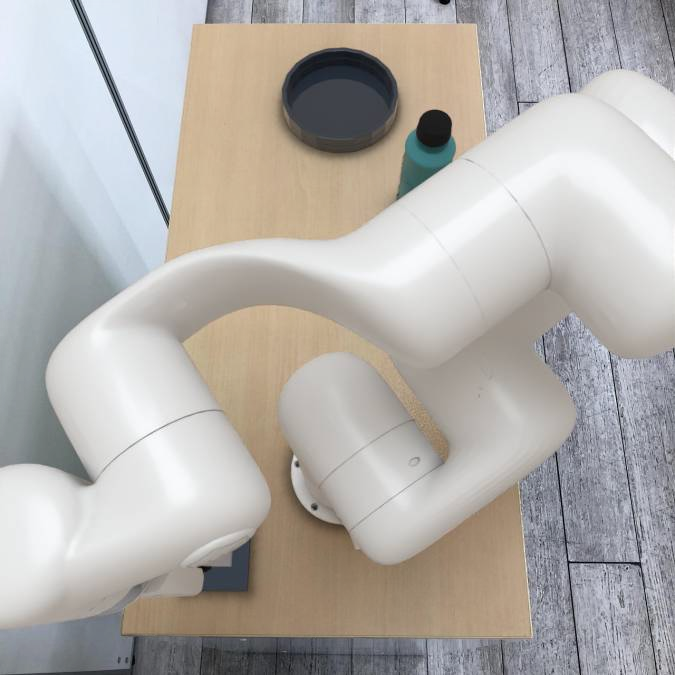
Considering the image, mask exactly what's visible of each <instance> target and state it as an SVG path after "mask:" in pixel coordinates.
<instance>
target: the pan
mask: <svg viewBox="0 0 675 675" xmlns="http://www.w3.org/2000/svg"><path fill="white" fill-rule="evenodd" d="M281 101H282V108H283V109H282V110H283V111H282V112H283V117H284V120H285V121H286V124H287V126H288V128H289V130H290V131H291V132H292V133H293V134H294V135H295V136H296V137H297V138H298V139H299V140H300V141H301V142H302V143H304V144H306V145H308V146H309V147H311V148H314V149H316V150H320V151H323V152H328V153H333V154H334V153H335V154H337V153H338V154H344V153H352V152H353V153H354V152H357V151H361V150H363V149H366V148H368V147H370V146H373V145H374V144H376V143H377V142H379V141H380V140H381V139H383V137H385V136H386V134H387V133H388V131H390V129H391V128H392V126H393V125H394V122H395V118H396V114H397V110H398V103H399V88H398V83H397V80H396V78H395V75H394V74H393V73H392V71H391V69H390V68H389V67H388V65H386V64H385V63H384V62H382V61H381V60H380V58H378V57H377V56H375V55H372V54H370V53H368V52H366V51H364V50H361V49H358V48H357V49H356V48H350V47H344V46H343V47H327V48H323V49H321V50H316V51H314V52H310V53H308V54H307V55H306V56H304V57H303V58H301V59H300V60H298V61H296V62H295V63H294V65H293V66H292V67H291V68H290V69H289V71H288V72H287V73H286V74H285V78H284V81H283V84H282V87H281Z"/></svg>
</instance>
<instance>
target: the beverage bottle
mask: <svg viewBox="0 0 675 675" xmlns="http://www.w3.org/2000/svg"><path fill="white" fill-rule="evenodd" d="M452 128H453V121H452V118H451V116H450V115H449V114H448V113H447V112H445V111H443V110H441V109H437V108H435V109H428V110H426V111H425V112H423V113H422V114H421V115H420V117H419V120H418V123H417V124H416V128H415V129H413V130H412V131H411V132H410V133H408V135H407V137H406V139H405V144H404V153H403V155H402V157H401V166H400V172H399V182H397V183H398V184H397V186H398V187H397V190H396V195H395V197H396V198H395V202H396V201H397V200H399V199H400V198H402V197H403V196H404V195H406V194H407V193H409V192H410V191H412V190H413V189H414V188H416V187H417V186H419V185H420V184H422V183H423V182H424V181H426V180H427V179H429V178H430V177H432V176H433V175H434V174H436V173H437V172H439V171H440V170H442V169H443V168H444V167H446V166H447V165H449V164H450V163H452V162H453V161H454V157H455V155H456V152H457V144H456V143H457V142H456V141H455V138H454V136H453V135H452V132H453V131H452V130H453V129H452Z"/></svg>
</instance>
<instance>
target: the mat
mask: <svg viewBox="0 0 675 675" xmlns="http://www.w3.org/2000/svg"><path fill="white" fill-rule="evenodd" d="M250 547H251V538H250V539H249V540H248V541H247V542H246V543H244V544H243V545H242V546H240V547H239V548H237V549H235V550H234V551H232V567H212V568H211V570H208V571H207V572H203V574H204V580H203V587H202V590H201V591H224V592H225V591H233V592H235V591H237V592H239V591H240V592H246V591H248V585H249V584H248V583H249V582H248V581H249V567H250V566H249V565H250V549H251V548H250Z"/></svg>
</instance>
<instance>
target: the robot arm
mask: <svg viewBox="0 0 675 675" xmlns="http://www.w3.org/2000/svg"><path fill="white" fill-rule="evenodd" d="M260 306H277V307H278V306H279V307H287V308H293V309H298V310H302V311H306V312H309V313H312V314H315V315H317V316H320V317H322V318H324V319H327V320H329V321H332V323H333V322H334V323H335V324H337V325H339V326H340V327H343V328H345V329H346V330H348V331H350V332H352V333H353V334H355V335H357V336H358V337H359V338H362V339H363V340H364V341H366V342H368V343H369V344H371V345H372V346H374V347H375V348H377V349H378V350H380V351H381V352H383V353H385V354H386V355H387V356H388V358H389V360H390V361H391V363H392V365H393V366H394V369H395V370H396V372H397V373H398V374H399V376H400V377H401V379H402V380H403V382H404V383H405V384H406V386H407V387H408V388H409V390H410V391H411V393H412V394H413V396H414V397H415V399H417V401H418V402H419V403H420V405H421V406H422V408H423V409H424V410H425V412H426V413H427V414H428V415H429V416H428V417H430V418H431V420H432V421H433V422H434V423H435V425H436V426H437V427H438V430H439V431H440V432H441V433H442V434H443V436H444V437H445V439H446V440H447V442H448V445H449V452H448V456H447V458H446V460H444V459H443V458H442V456H441V455H440V454H439V452H438V451H437V450H436V448H435V447H434V445H433V444H432V443H431V441H430V440H429V438H427V436H426V435H425V433H424V431H422V429H421V428H420V426H419V425H418V424H417V422H416V420H415V419H414V417H413V415H412V414H411V413H410V411H409V410H408V408H406V406H405V404H404V403H403V402H402V401H401V399H400V398H399V396H398V395H397V393H396V392H395V391H394V390H393V388H392V387H391V386H390V384H389V383H388V381H387V380H386V379H385V378H384V376H383V375H382V374H381V373H380V371H379V370H377V368H376V367H375V366H374V365H372V364H371V363H370V362H369V361H368V360H367V359H365V358H364V357H362V356H359V355H358V354H357V353H356V354H355V353H353V352H348V351H331V352H325V353H322V354H321V355H317V356H315V357H313V358H311V359H309V360H307V362H305V363H303V364H301V366H300V367H299V368H297V369H296V370H295V371H294V372H293V374H291V375H290V377H289V378H288V379H287V381H286V383H285V384H284V386H283V387H282V390H281V392H280V395H279V398H278V403H277V409H276V410H277V412H276V414H277V422H278V426H279V429H280V432H281V434H282V435H283V438H284V439H285V441H286V442H287V444H288V446H289V447H290V449H291V451H292V453H293V456H292V460H291V464H290V478H291V483H292V488H293V490H294V493H295V495H296V497H297V499H298V501H299V502H300V504H301V505H302V506H303V507H304V509H306V511H308V512H309V513H310V514H311V515H312V516H314V517H316V518H317V519H319V520H321V521H324V522H326V523H329V524H334V525H342V526H344V527H345V529H346V531H347V532H348V533H349V537H350V540H351V542H352V544H353V547H354V550H355V552H356V551H359V550H361V551H362V553H363V554H364V555H365V556H366V557H367V558H369V560H371V561H372V562H374V563H376V564H378V565H382V566H392V565H393V566H394V565H398V564H400V563H403V562H405V561H407V560H409V559H411V558H413V557H414V556H416V555H418V554H419V553H421V552H423V551H424V550H426V549H427V548H428V547H430V546H432V545H433V544H434V543H436V542H437V541H438V540H440V539H442V538H443V537H444V536H446V535H447V534H448V533H450V532H451V531H453V530H454V529H455V528H457V527H458V526H459V525H461V524H462V523H463V522H465V521H466V520H467V519H469V518H471V517H472V516H473V515H475V513H477V512H479V511H480V510H481V509H483V508H484V507H485V506H488V504H490V503H491V502H492V501H494V500H495V499H497V498H498V497H500V495H502V494H503V493H505V492H507V491H508V490H509V489H510V488H511V487H513V486H514V485H516V484H517V483H519V482H520V481H521V480H522V479H524V478H525V477H526V476H528V475H530V474H531V473H532V472H534V471H535V470H536V469H537V468H538V467H540V466H541V465H542V464H543V463H545V462H547V460H549V458H550V457H553V455H554V454H555V453H557V451H558V450H559V449H560V448H561V447H562V446H563V445H564V444H565V442H566V441H567V440H568V438H569V437H570V436H571V434H572V432H573V431H574V429H575V426H576V422H577V409H576V408H577V407H576V404H575V402H574V399H573V397H572V396H571V393H570V392H569V391H568V388H566V386H565V384H564V383H563V382H562V380H560V378H559V377H558V376H557V375H556V374H555V372H554V371H553V370H552V368H550V367H549V365H548V364H547V363H546V362H545V360H544V359H543V358H542V357H541V356H540V355H539V353H538V352H537V351H536V349H535V345H536V342H538V340H539V339H540V338H541V337H542V336H544V335H545V334H546V333H548V331H550V330H552V328H554V327H555V326H556V325H558V324H559V323H560V322H562V321H563V320H564V319H566V318H567V317H569V316H570V315H571V314H572V313H573V314H574V315H575V316H576V317H577V318H578V320H579V321H580V322H581V323H582V324H583V325H584V326H585V327H586V328H587V329H588V331H589V332H590V333H591V334H592V335H593V337H594V338H595V339H596V340H597V341H598V342H599V343H600V344H601V345H602V346H603V347H604V349H606V350H607V351H608V352H610V353H611V354H612V355H614V356H616V357H618V358H620V359H623V360H632V361H633V360H644V359H646V360H647V359H648V358H649V359H650V358H652V357H655V356H658V355H661V354H664V353H666V352H668V351H670V350H672V349H675V94H674V93H673V92H672V91H670V90H669V89H668V88H666V87H665V86H663V85H662V84H661V83H659V82H657V81H656V80H655V79H653V78H652V77H649V76H647V75H645V74H643V73H641V72H638V71H635V70H630V69H625V68H617V69H610V70H607V71H604V72H602V73H600V74H599V75H597V76H595V77H594V78H593V79H592V80H590V81H589V82H588V83H586V84H585V85H584V86H583V87H582V88H581V89H580V90H579V91H578V92H567V93H560V94H555V95H553V96H550V97H547V98H545V99H542V100H541V101H539V102H536V103H535V104H533V105H532V106H530V107H529V108H527V109H526V110H524V111H523V112H521V113H520V114H519V115H517V116H515V117H514V118H512V119H511V120H510V121H508V122H507V123H506V124H504V125H503V126H501V127H500V128H498V129H496V130H495V131H494V132H492V133H491V134H490V135H488V136H486V138H484V139H483V140H481V141H480V142H478V143H476V144H475V145H474V146H473V147H471V148H470V149H468V150H467V151H465V152H463V153H462V154H461V155H459V156H458V157H457V158H455V159H453V161H452V163H450V164H449V165H447V166H446V167H444V168H443V169H442V170H440V171H439V172H437V173H436V174H434V175H433V176H432V177H430V178H429V179H427V180H426V181H424V182H423V183H422V184H420V185H419V186H417V187H416V188H414V189H413V190H412V191H410V192H409V193H407V194H406V195H404V196H403V197H402V198H400V199H399V200H397V201H396V200H395V201H394V202H393V203H391V204H390V205H389V206H387V207H386V208H384V209H383V210H382V211H380V212H379V213H378V214H376V215H375V216H373V217H372V218H371V219H369V220H368V221H367V222H365V223H364V224H363V225H361V226H360V227H358V228H356V229H355V230H353V231H351V232H349V233H347V234H345V235H342V236H339V237H335V238H329V239H310V238H308V239H307V238H295V237H293V238H291V237H268V238H267V237H265V238H251V239H245V240H238V241H231V242H226V243H221V244H216V245H212V246H207V247H203V248H200V249H197V250H193V251H191V252H187V253H184V254H181V255H179V256H176V257H175V258H172V259H170V260H168V261H167V262H165V263H163V264H161V265H159V266H157V267H156V268H154V269H153V270H151V271H150V272H148V273H147V274H145V275H143V276H142V277H141V278H140V279H137V280H136V281H135V282H134V283H132V284H131V285H129V286H128V287H126V288H124V290H122V291H120V292H119V293H117V295H115V296H114V297H112V298H110V299H109V300H108V301H106V302H105V303H103V304H102V305H101V306H99V307H98V308H96V309H95V310H93V311H92V312H91V313H90V314H88V316H86V317H85V318H84V319H83V320H81V321H80V322H79V323H78V324H77V325H76V326H74V327H73V328H72V329H71V330H70V331H69V332H68V333H67V334H66V335H64V337H63V338H62V339H61V341H60V342H59V343H58V345H57V346H56V347H55V348H54V350H53V352H52V353H51V355H50V358H49V360H48V363H47V365H46V369H45V378H44V379H45V380H44V381H45V388H46V391H47V396H48V400H49V401H50V404H51V406H52V408H53V411H54V413H55V414H56V417H57V420H58V421H59V422H60V424H61V427H62V429H63V430H64V433H65V434H66V436H67V439H68V440H69V441H70V444H71V446H72V447H73V449H74V451H75V453H76V454H77V456H78V457H79V460H80V462H81V464H82V465H83V468H84V470H85V471H86V473H87V475H88V477H89V479H90V480H91V481H88V480H86V479H83V478H81V477H79V476H76V475H75V474H71V473H69V472H66V471H65V470H62V469H59V468H57V467H53V466H49V465H45V464H39V463H27V462H26V463H15V464H9V465H6V466H1V467H0V630H13V629H14V630H15V629H22V628H29V627H34V626H42V625H48V624H49V625H50V624H55V623H62V622H71V621H76V620H82V619H89V618H96V617H102V616H108V615H112V614H115V613H117V612H120V611H122V610H124V609H125V608H127V607H129V606H130V605H132V604H134V603H135V602H136V601H137V600H138V599H153V598H154V599H157V598H174V597H195V596H196V595H199V594H200V593H201V592H202V591H203V590H202V587H203V580H204V574H203V572H207V571H208V570H211V568H212V567H232V551H234V550H235V549H237V548H239V547H240V546H242V545H243V544H244V543H246V542H247V541H248V540H249V539H250V540H251V538H253V536H254V535H255V534H256V532H257V530H258V529H259V527H260V526H261V525H262V524H263V523H264V522H265V521H266V519H267V518H268V516H269V513H270V511H271V508H272V507H271V506H272V496H271V491H270V488H269V485H268V482H267V480H266V478H265V476H264V474H263V472H262V471H261V469H260V468H259V465H258V464H257V462H256V461H255V459H254V458H253V456H252V454H251V453H250V451H249V450H248V448H247V447H246V445H245V443H244V441H243V440H242V439H241V437H240V435H239V433H238V432H237V431H236V428H235V427H234V425H233V424H232V422H231V420H230V419H229V418H228V416H227V413H226V412H225V410H224V409H223V407H222V405H221V403H220V402H219V401H218V399H217V398H216V396H215V395H214V393H213V392H212V390H211V388H210V387H209V385H208V383H207V381H206V380H205V379H204V377H203V375H202V373H201V372H200V370H199V369H198V366H196V364H195V361H193V359H192V357H191V354H190V353H189V352H188V350H187V349H186V348H185V346H184V345H183V344H184V343H185V342H186V341H188V340H189V339H190V338H192V337H193V336H194V335H195V334H197V333H198V332H200V331H201V330H203V329H205V327H207V326H209V325H210V324H212V323H214V322H215V321H216V320H219V319H221V318H223V317H225V316H228V315H229V314H232V313H234V312H237V311H240V310H243V309H247V308H254V307H260ZM297 465H298V466H297ZM314 507H316V509H314Z"/></svg>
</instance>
